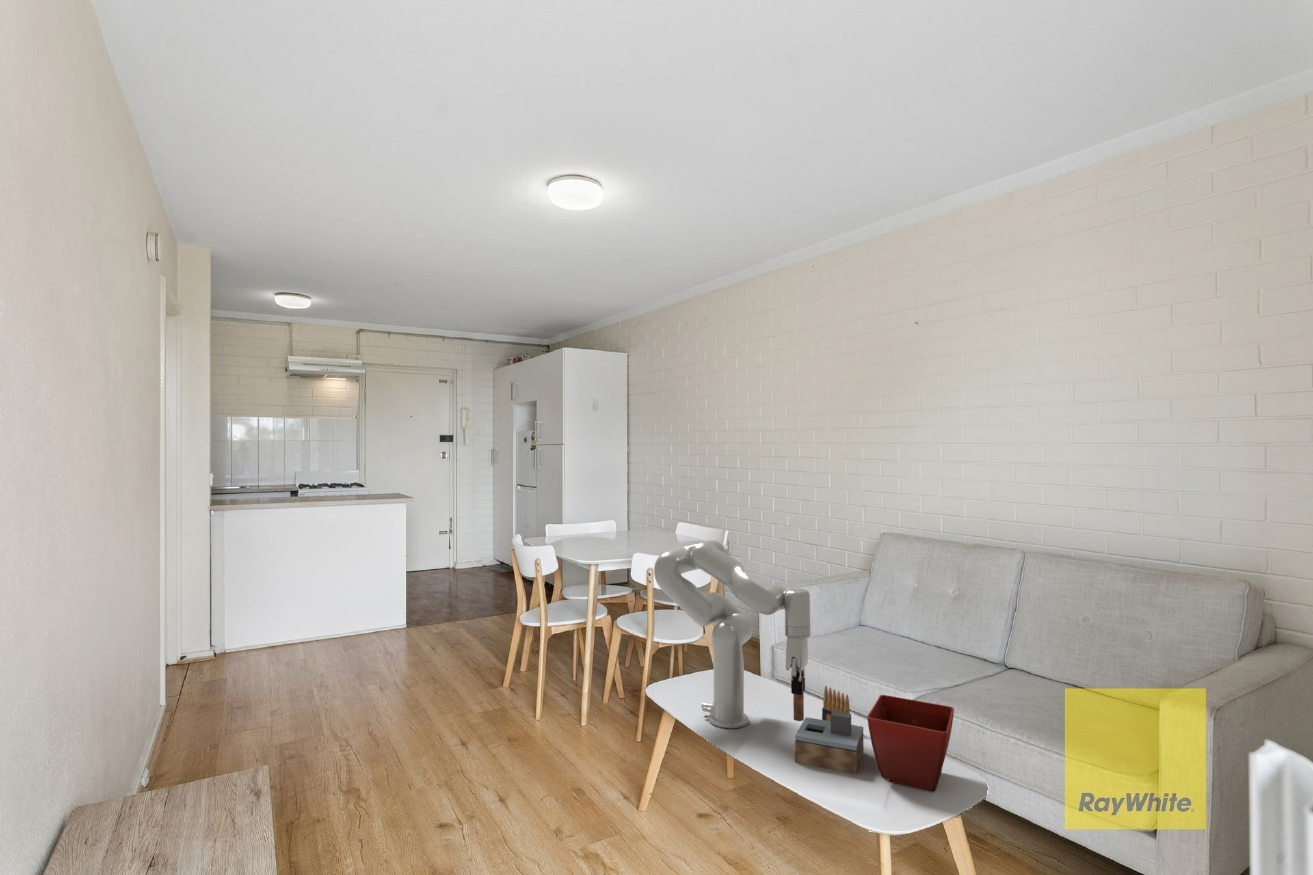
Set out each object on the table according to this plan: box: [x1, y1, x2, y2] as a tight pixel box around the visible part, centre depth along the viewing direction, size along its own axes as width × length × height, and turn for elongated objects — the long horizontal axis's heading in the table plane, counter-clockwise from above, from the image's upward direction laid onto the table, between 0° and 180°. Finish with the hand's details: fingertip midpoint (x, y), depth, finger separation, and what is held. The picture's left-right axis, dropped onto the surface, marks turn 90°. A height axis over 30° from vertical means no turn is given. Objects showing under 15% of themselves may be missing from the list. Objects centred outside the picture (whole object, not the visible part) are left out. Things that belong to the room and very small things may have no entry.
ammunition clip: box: [821, 685, 851, 721], centre depth 204 cm, size 11×2×12 cm, turn 30°
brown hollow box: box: [794, 728, 865, 776], centre depth 182 cm, size 16×14×7 cm
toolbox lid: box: [794, 711, 864, 751], centre depth 182 cm, size 16×14×6 cm
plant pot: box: [866, 694, 955, 793], centre depth 173 cm, size 19×19×17 cm
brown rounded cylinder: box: [792, 676, 805, 722], centre depth 200 cm, size 3×3×12 cm
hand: (798, 691), depth 200 cm, fingers closed on brown rounded cylinder, 3 cm apart
